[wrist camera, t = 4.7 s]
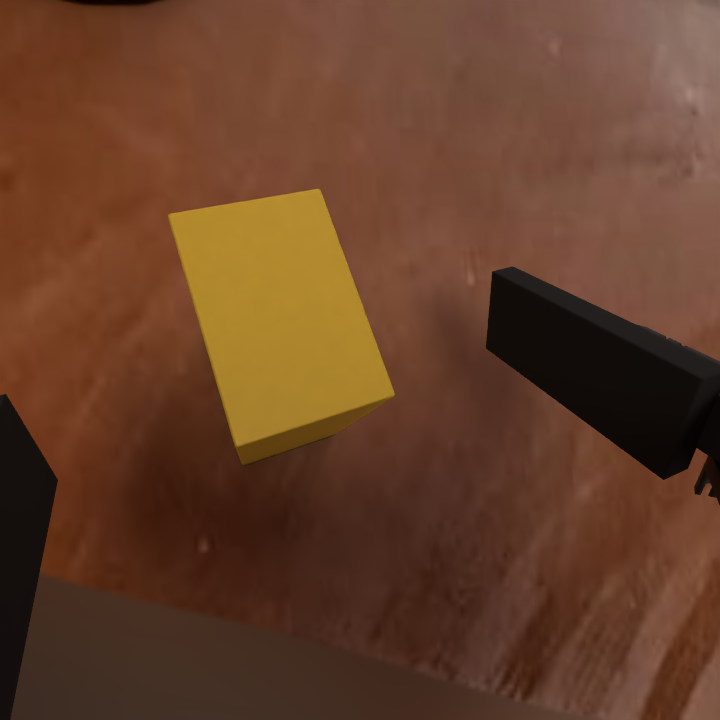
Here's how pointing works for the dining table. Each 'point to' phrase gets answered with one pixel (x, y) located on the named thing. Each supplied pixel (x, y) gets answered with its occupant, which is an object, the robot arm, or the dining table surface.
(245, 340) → the sponge
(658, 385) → the robot arm
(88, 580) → the dining table surface
